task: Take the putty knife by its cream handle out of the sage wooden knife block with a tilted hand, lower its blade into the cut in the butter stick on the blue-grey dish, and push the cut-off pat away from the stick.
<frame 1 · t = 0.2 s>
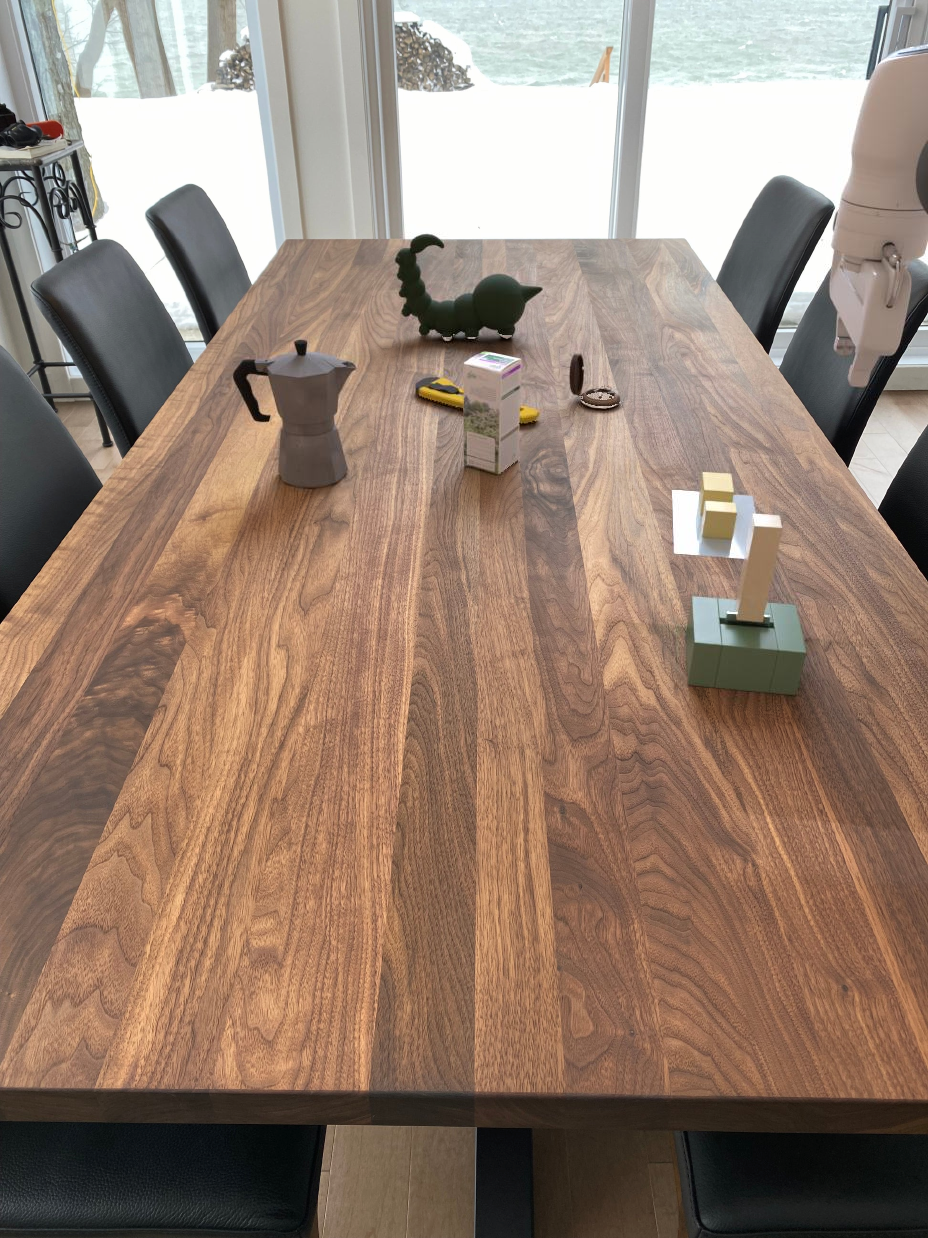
hand: (849, 368, 104), 21 cm above the table, tool pointing down, fingers open, 8 cm apart
coffeepot: (305, 474, 130), on the table
compass: (596, 401, 151), on the table
utility knife: (476, 406, 149), on the table
butter stick: (713, 507, 120), point 1 cm above the table, touching butter dish
putty knife: (752, 596, 90), in the knife block
butter dish: (714, 530, 117), on the table
toy figurine: (469, 338, 175), on the table
knife block: (738, 665, 95), on the table
butter pat: (716, 533, 114), point 1 cm above the table, touching butter dish
syrup box: (491, 464, 132), on the table
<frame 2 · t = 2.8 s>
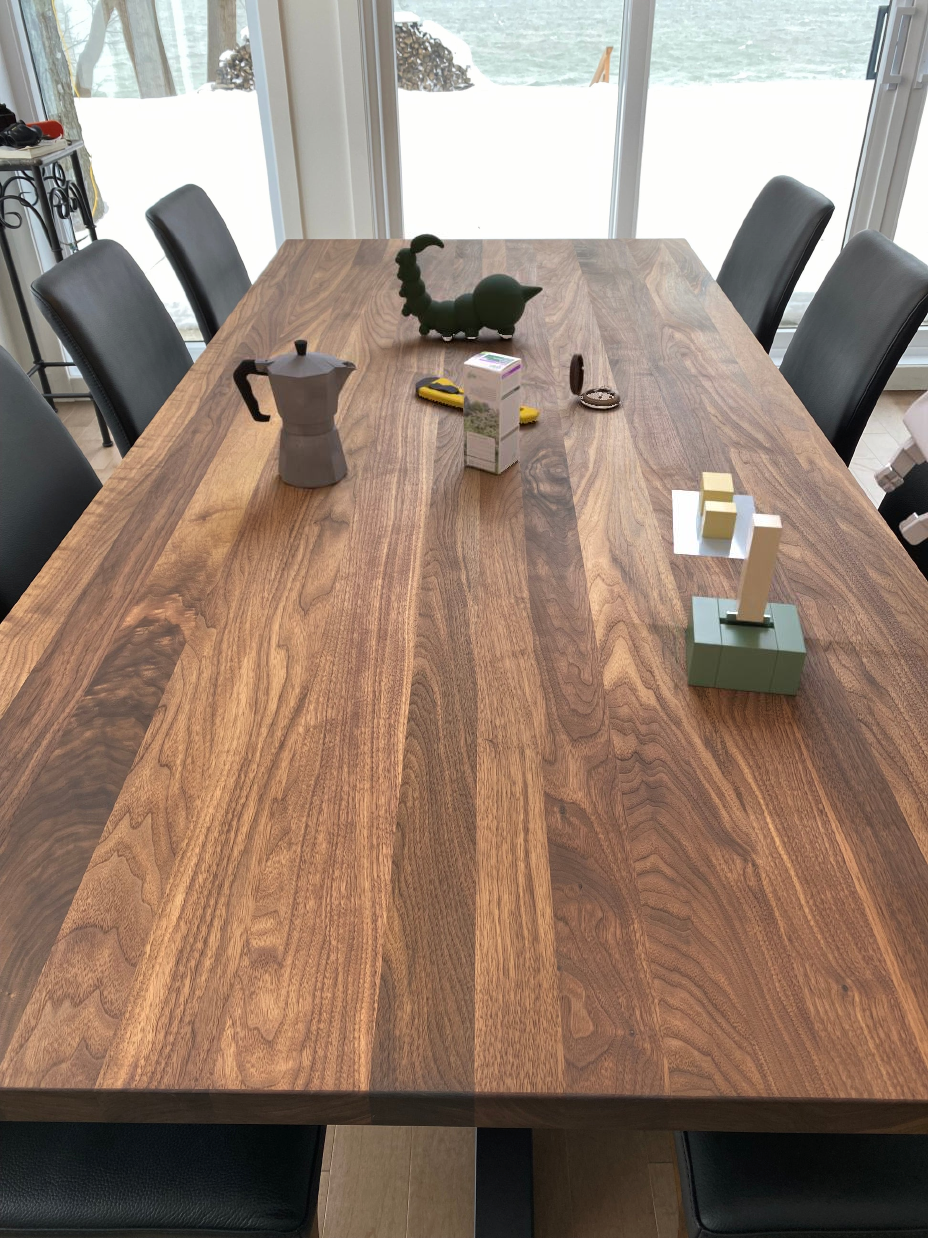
hand: (891, 509, 86), 17 cm above the table, tool tilted 40°, fingers open, 8 cm apart
nothing on the table moved.
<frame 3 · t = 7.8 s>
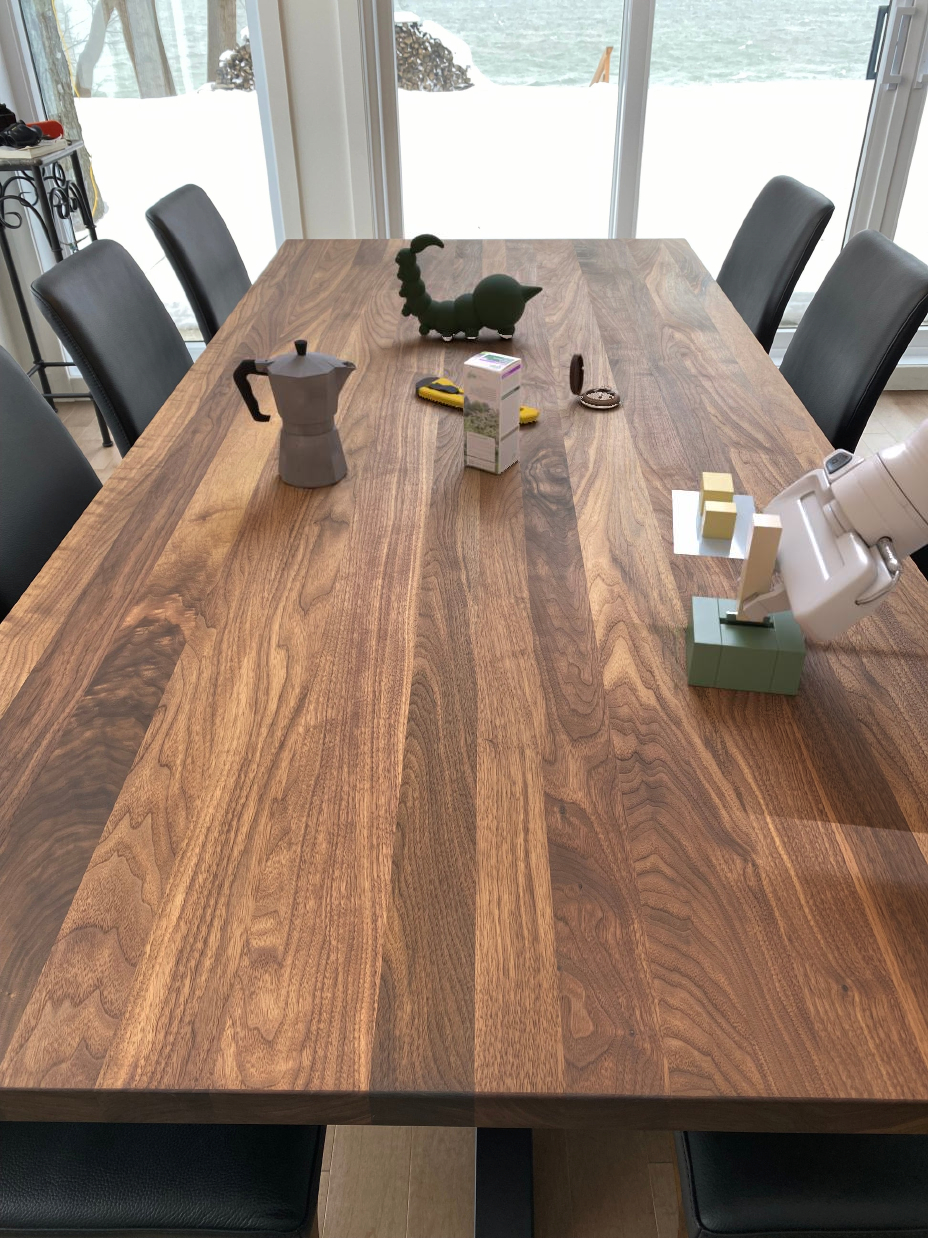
hand: (743, 601, 91), 7 cm above the table, tool tilted 45°, fingers closed on putty knife, 2 cm apart
putty knife: (752, 596, 90), in the knife block, touching gripper
everything else where it was.
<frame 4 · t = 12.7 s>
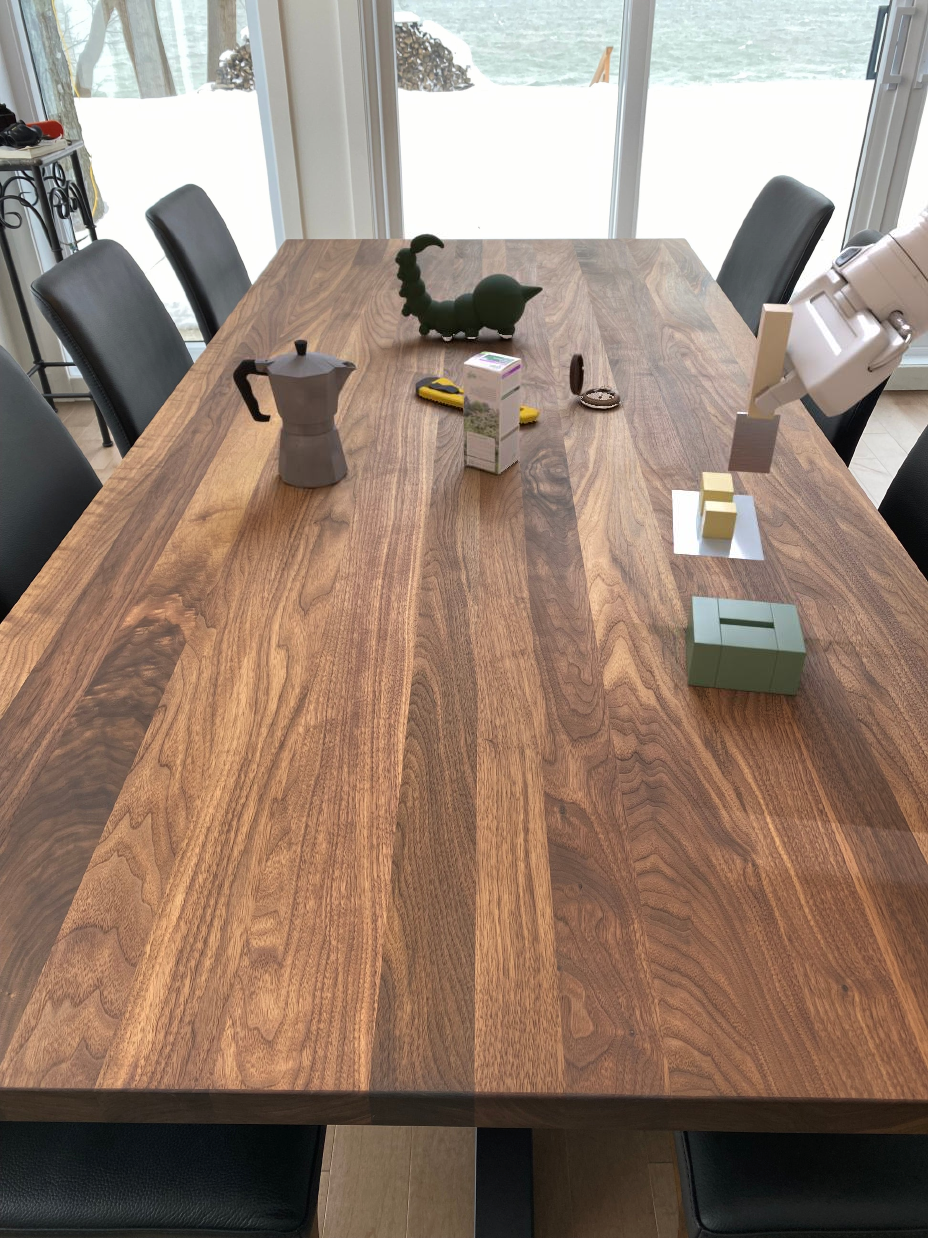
hand: (754, 399, 92), 23 cm above the table, tool tilted 45°, fingers closed on putty knife, 2 cm apart
putty knife: (762, 393, 91), point 23 cm above the table, touching gripper
everything else where it was.
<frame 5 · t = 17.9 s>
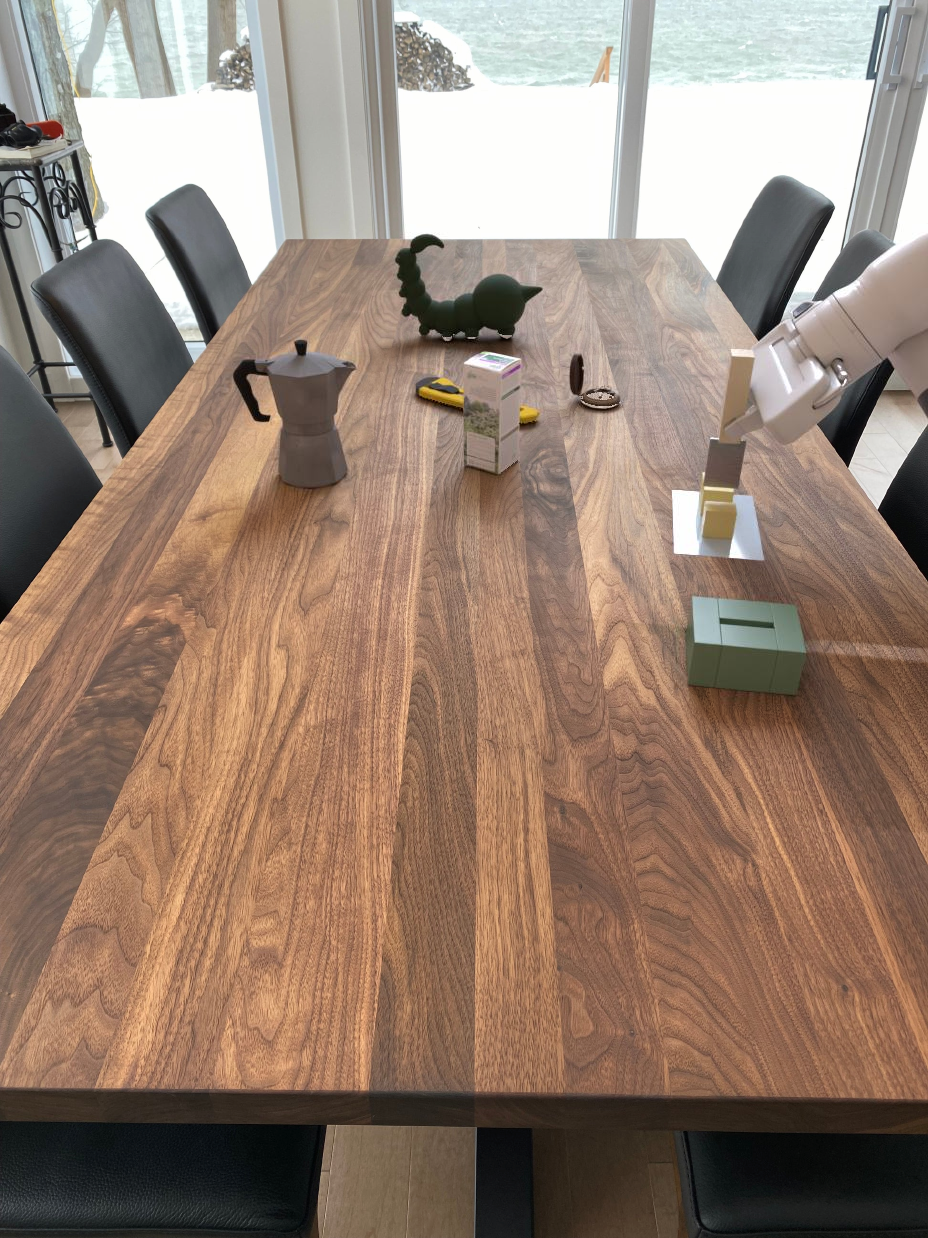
hand: (725, 427, 110), 13 cm above the table, tool tilted 45°, fingers closed on putty knife, 2 cm apart
putty knife: (731, 422, 109), point 14 cm above the table, touching gripper
everything else where it was.
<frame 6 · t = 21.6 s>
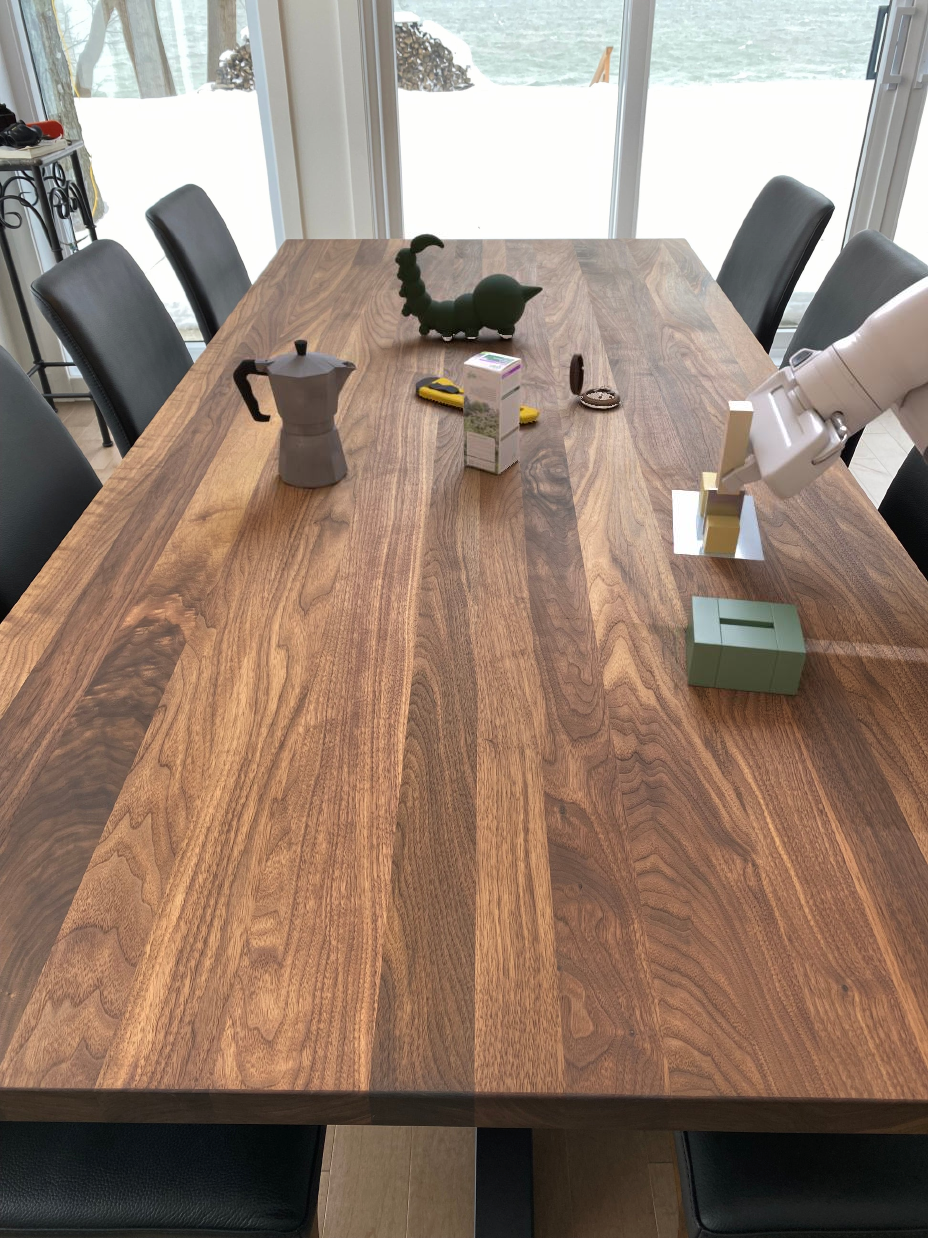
hand: (723, 477, 108), 9 cm above the table, tool tilted 45°, fingers closed on putty knife, 2 cm apart
putty knife: (729, 473, 108), point 10 cm above the table, touching butter pat, gripper
butter pat: (718, 547, 112), point 1 cm above the table, touching butter dish, putty knife
everything else where it was.
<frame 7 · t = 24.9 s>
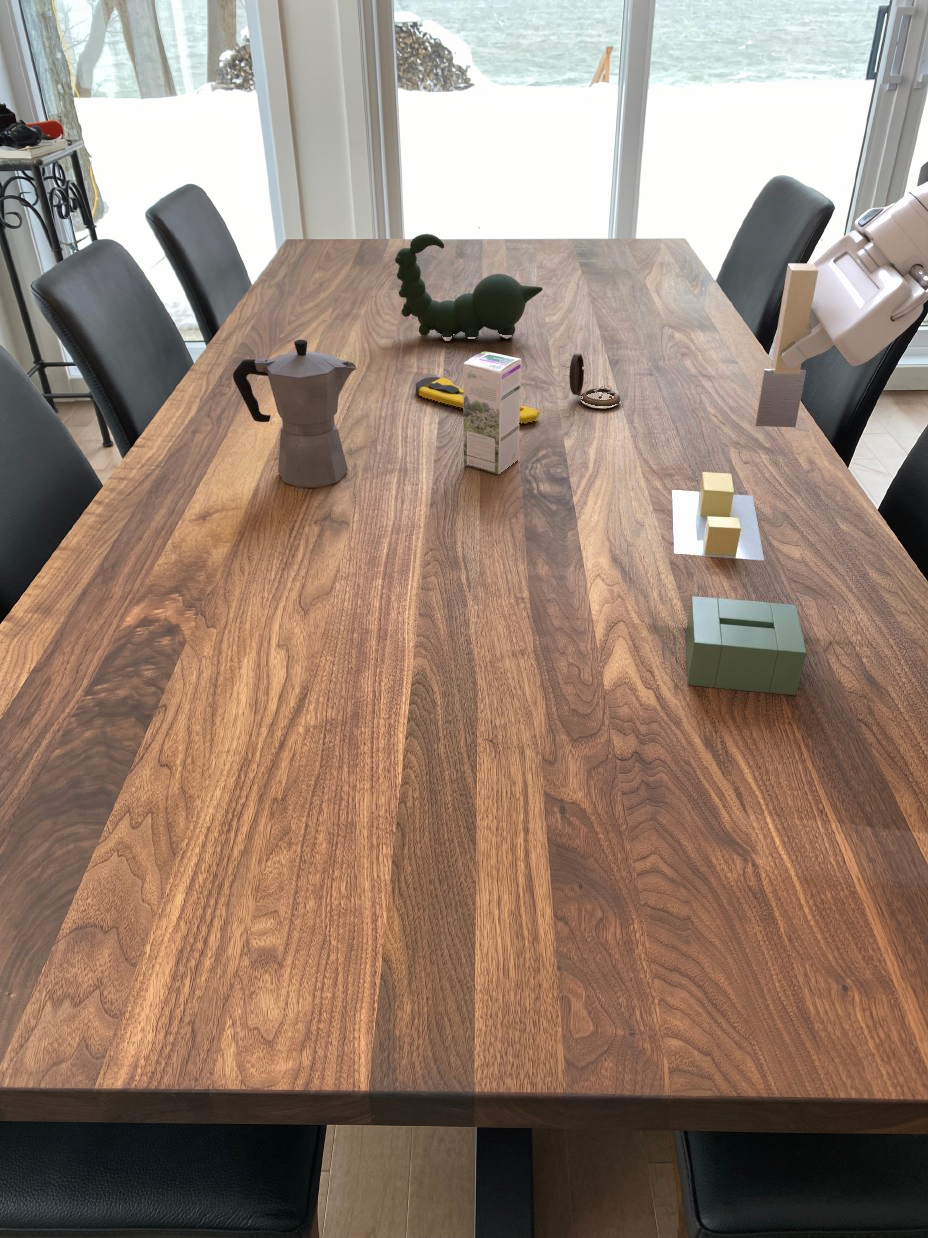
hand: (781, 355, 96), 24 cm above the table, tool tilted 45°, fingers closed on putty knife, 2 cm apart
putty knife: (788, 350, 96), point 25 cm above the table, touching gripper
butter pat: (719, 549, 111), point 1 cm above the table, touching butter dish
everything else where it was.
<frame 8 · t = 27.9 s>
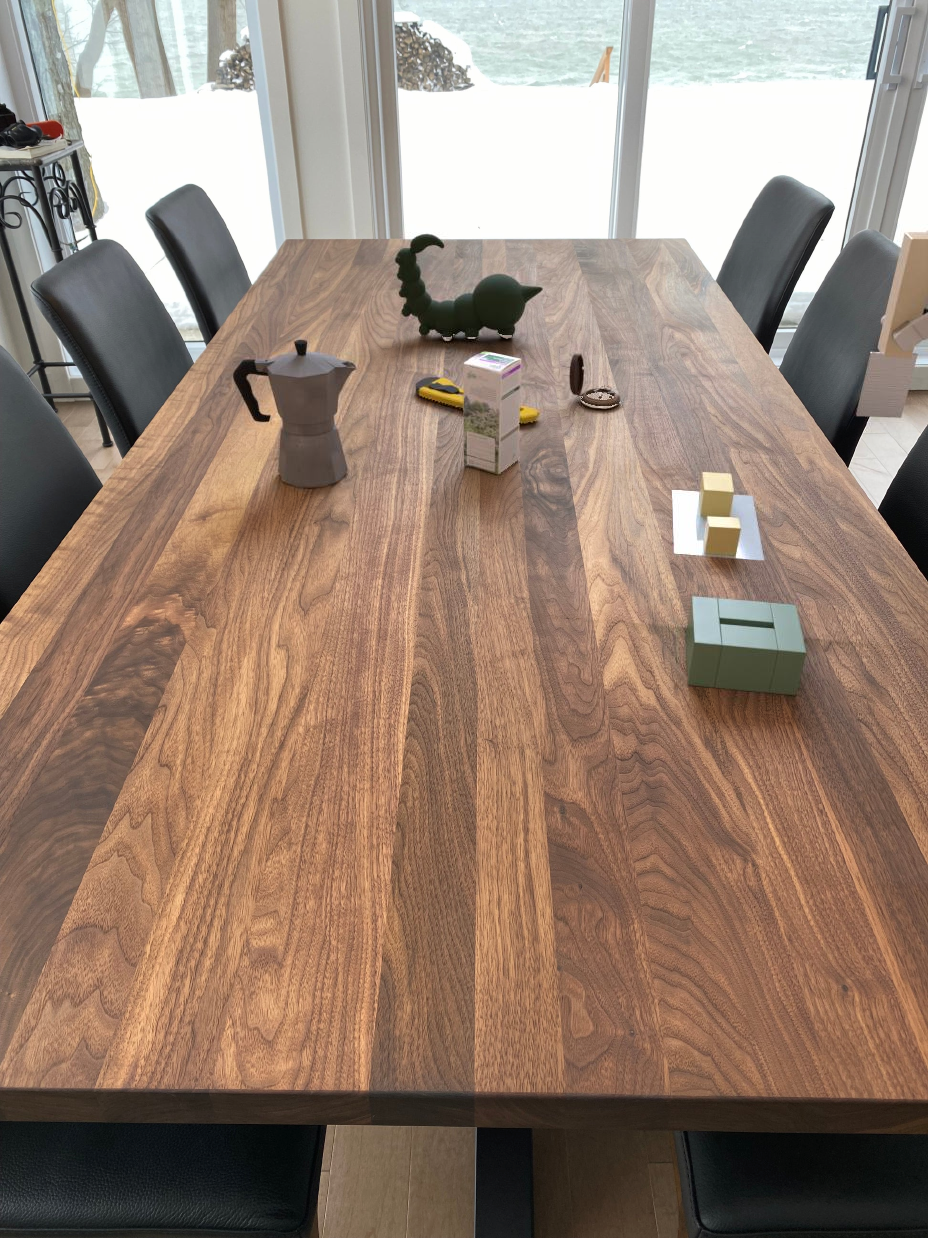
hand: (891, 336, 86), 29 cm above the table, tool tilted 45°, fingers closed on putty knife, 2 cm apart
putty knife: (899, 330, 86), point 30 cm above the table, touching gripper
everything else where it was.
at the end: butter pat moved 3.7 cm from its start; butter pat 0.2 cm from the target spot on the butter dish, point 1.0 cm above the butter dish's base; the gripper is holding putty knife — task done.
